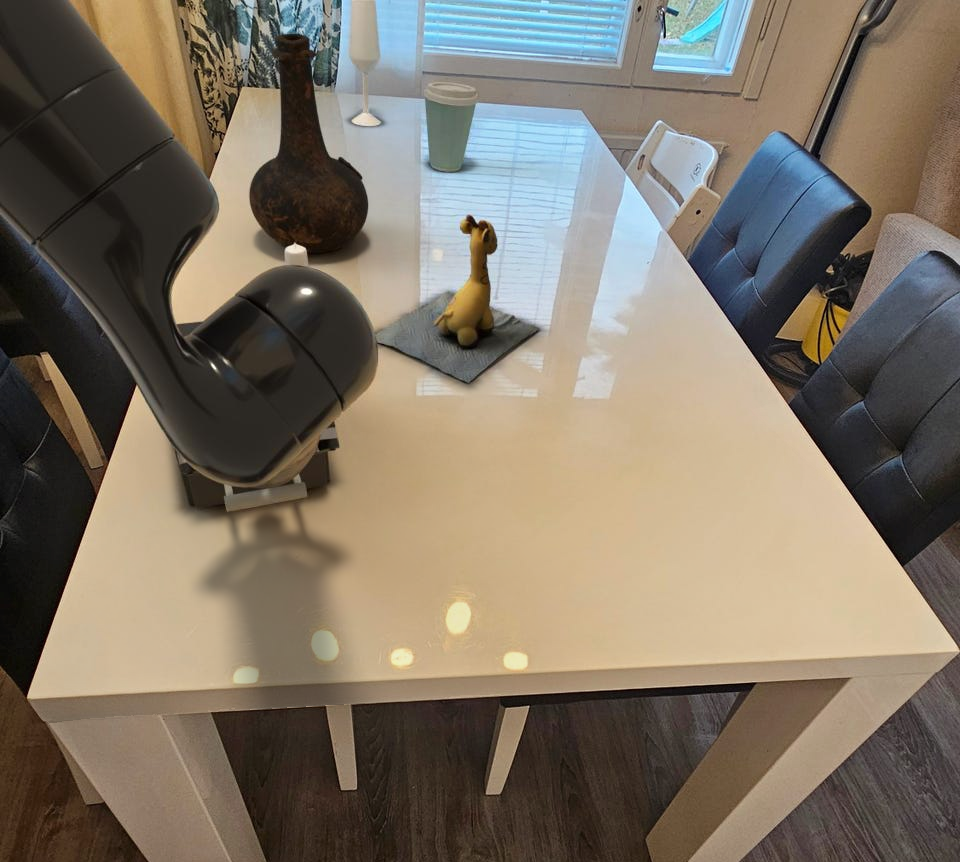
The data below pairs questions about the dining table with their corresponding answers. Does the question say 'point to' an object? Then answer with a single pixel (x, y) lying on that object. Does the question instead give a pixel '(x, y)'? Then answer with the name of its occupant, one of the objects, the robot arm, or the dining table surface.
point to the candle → (296, 255)
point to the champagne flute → (364, 50)
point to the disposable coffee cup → (448, 123)
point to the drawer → (247, 497)
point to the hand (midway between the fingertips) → (258, 458)
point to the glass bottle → (305, 168)
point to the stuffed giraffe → (460, 319)
